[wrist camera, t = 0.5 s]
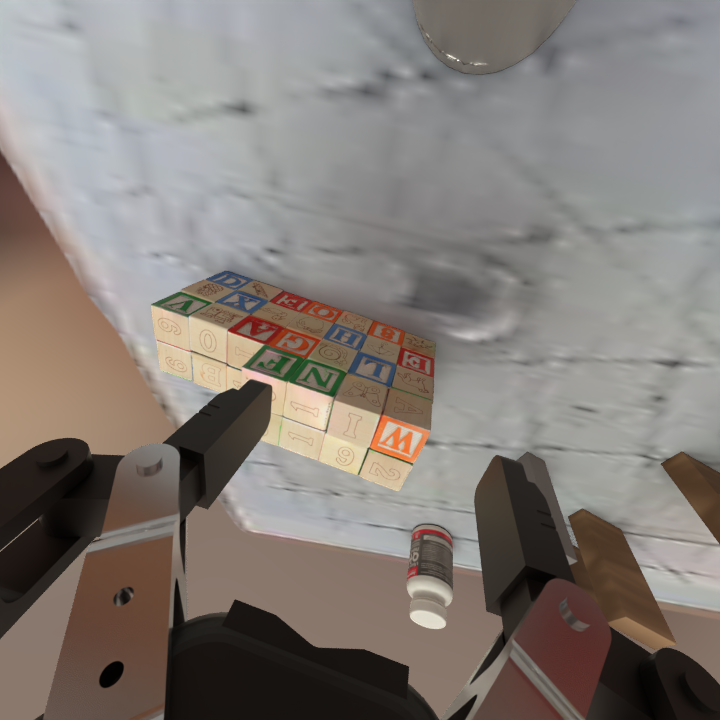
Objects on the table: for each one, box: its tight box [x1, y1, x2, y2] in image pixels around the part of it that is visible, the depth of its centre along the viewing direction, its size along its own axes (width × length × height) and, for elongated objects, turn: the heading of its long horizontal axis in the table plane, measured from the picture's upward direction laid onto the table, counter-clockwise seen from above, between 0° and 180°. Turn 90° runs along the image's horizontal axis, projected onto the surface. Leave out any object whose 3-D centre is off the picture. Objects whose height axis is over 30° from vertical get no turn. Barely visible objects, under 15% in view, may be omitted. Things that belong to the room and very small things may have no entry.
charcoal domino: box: [517, 452, 577, 565], centre depth 29 cm, size 2×5×10 cm, turn 154°
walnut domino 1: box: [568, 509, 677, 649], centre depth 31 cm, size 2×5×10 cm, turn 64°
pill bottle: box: [407, 525, 453, 629], centre depth 39 cm, size 5×5×10 cm
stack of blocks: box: [151, 271, 436, 491], centre depth 26 cm, size 21×6×12 cm, turn 75°
